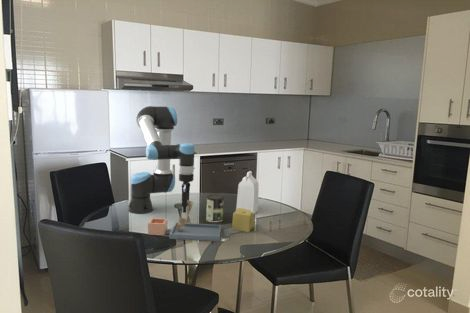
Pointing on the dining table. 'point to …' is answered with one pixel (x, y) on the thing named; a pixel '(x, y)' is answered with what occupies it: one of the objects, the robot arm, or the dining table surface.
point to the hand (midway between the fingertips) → (185, 216)
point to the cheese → (243, 220)
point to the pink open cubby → (157, 226)
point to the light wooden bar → (183, 220)
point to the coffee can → (214, 208)
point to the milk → (248, 193)
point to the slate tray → (197, 232)
